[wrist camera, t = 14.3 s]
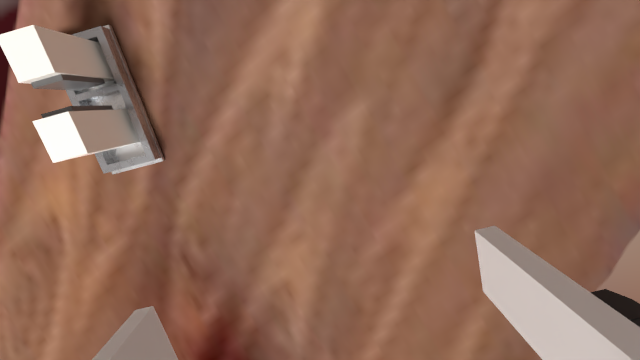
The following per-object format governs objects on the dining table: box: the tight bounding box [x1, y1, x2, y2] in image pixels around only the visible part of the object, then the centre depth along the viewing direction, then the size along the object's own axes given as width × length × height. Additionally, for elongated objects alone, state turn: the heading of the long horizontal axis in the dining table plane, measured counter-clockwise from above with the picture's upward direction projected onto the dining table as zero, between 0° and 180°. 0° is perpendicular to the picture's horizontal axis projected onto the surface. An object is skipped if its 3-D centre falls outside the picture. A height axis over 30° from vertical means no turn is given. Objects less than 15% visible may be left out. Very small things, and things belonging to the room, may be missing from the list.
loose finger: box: [33, 105, 140, 163], centre depth 36 cm, size 4×5×10 cm
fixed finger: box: [0, 25, 115, 91], centre depth 35 cm, size 4×5×10 cm
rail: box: [66, 25, 165, 174], centre depth 40 cm, size 18×8×2 cm, turn 14°
